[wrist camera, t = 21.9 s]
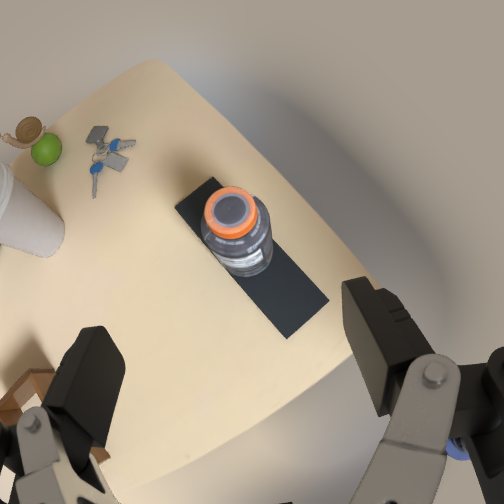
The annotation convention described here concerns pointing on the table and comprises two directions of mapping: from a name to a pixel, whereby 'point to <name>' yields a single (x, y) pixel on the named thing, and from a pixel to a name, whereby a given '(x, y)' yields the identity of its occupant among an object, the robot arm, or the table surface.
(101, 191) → the table surface
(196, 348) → the table surface
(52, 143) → the snail figurine
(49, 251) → the coffee cup
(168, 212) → the table surface
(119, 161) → the key chain
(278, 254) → the mat
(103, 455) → the wooden box frame
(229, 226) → the pill bottle
